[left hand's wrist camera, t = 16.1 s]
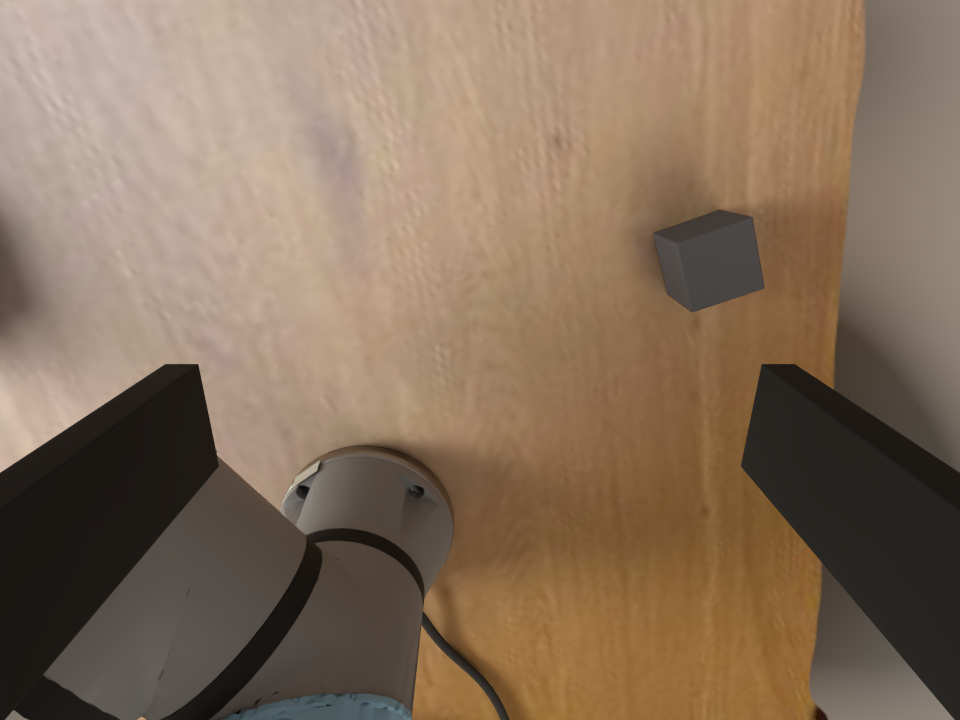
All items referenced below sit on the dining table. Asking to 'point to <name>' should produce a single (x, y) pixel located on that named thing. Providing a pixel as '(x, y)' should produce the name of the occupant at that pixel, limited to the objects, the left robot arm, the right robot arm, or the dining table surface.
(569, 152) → the dining table surface
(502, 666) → the dining table surface
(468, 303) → the dining table surface
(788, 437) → the left robot arm
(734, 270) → the grey block
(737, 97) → the dining table surface
